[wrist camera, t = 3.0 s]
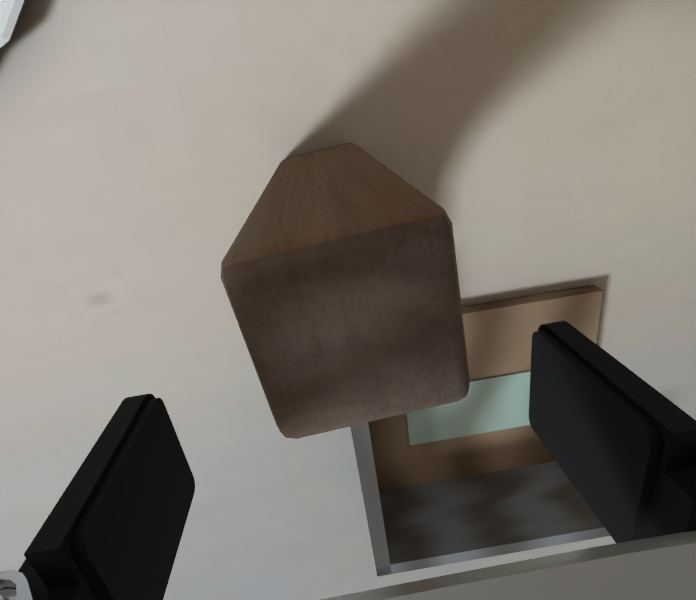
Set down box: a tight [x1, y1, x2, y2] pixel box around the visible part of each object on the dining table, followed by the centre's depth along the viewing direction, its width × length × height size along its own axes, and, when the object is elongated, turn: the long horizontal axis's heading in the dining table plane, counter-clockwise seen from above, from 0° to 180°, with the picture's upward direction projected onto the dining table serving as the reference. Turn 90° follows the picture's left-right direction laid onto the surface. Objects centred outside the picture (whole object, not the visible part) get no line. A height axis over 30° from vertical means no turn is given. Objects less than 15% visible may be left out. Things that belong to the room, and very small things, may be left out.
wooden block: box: [221, 143, 470, 439], centre depth 17 cm, size 9×4×18 cm, turn 12°
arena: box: [351, 285, 611, 576], centre depth 29 cm, size 18×16×7 cm
